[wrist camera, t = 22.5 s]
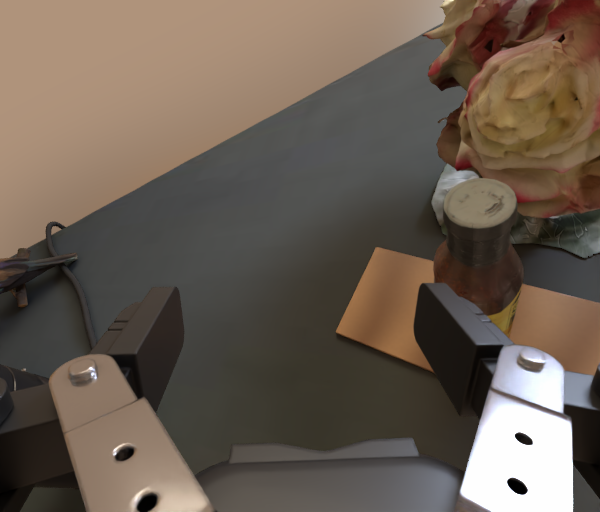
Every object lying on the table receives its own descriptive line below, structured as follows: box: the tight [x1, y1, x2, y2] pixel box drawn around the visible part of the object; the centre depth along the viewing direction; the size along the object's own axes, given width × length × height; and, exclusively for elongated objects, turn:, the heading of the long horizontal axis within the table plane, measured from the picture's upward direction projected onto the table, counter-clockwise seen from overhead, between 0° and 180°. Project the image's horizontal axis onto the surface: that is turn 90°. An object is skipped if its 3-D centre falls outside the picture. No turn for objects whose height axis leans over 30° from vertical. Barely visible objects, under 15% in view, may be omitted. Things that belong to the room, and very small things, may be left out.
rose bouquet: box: [422, 0, 600, 258], centre depth 32 cm, size 26×29×30 cm
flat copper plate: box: [336, 247, 600, 375], centre depth 38 cm, size 24×12×1 cm, turn 61°
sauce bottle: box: [433, 178, 524, 338], centre depth 29 cm, size 7×6×20 cm
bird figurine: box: [0, 248, 77, 307], centre depth 62 cm, size 13×10×20 cm
